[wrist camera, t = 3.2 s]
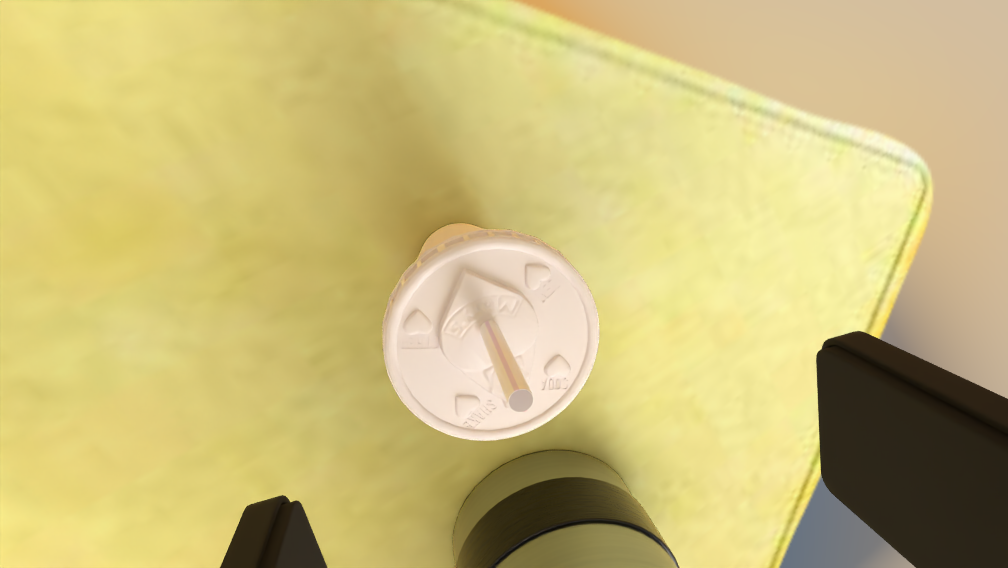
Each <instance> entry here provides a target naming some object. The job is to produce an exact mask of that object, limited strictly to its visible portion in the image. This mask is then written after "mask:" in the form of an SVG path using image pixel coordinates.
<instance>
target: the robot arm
mask: <svg viewBox="0 0 1008 568" xmlns="http://www.w3.org/2000/svg"><path fill="white" fill-rule="evenodd" d="M816 364H817V388H818V412H819V436H820V461H821V475H822V478H823V481H824V483H825V485H826V487H827V488H828V489H829V491H830V492H831V493H832V494H833V495H834V496H835V497H836V498H837V499H839V500H840V501H841V502H842V503H843V504H844V505H846V506H847V507H848V508H849V509H850V510H851V511H852V512H853V513H855V514H856V515H857V516H858V517H859V518H860V519H861V520H863V521H864V522H865V523H866V524H867V525H868V526H869V527H870V528H872V529H873V530H874V531H875V532H876V533H877V534H878V535H880V536H881V537H882V538H883V539H884V540H885V541H886V542H888V543H889V544H890V545H891V546H892V547H893V548H894V549H895V550H897V551H898V552H899V553H900V554H901V555H902V556H903V557H905V558H906V559H907V560H908V561H909V562H910V563H911V564H912V565H914V566H915V567H916V568H1008V399H1007V398H1005V397H1002V396H1000V395H998V394H996V393H994V392H992V391H990V390H987V389H985V388H983V387H981V386H979V385H977V384H975V383H972V382H970V381H968V380H966V379H964V378H962V377H960V376H957V375H955V374H953V373H951V372H949V371H947V370H944V369H942V368H940V367H938V366H936V365H934V364H932V363H929V362H927V361H925V360H923V359H920V358H919V357H916V356H914V355H912V354H910V353H908V352H906V351H904V350H901V349H899V348H897V347H895V346H893V345H891V344H888V343H886V342H884V341H882V340H880V339H878V338H876V337H873V336H871V335H869V334H867V333H865V332H861V331H856V332H852V333H848V334H845V335H841V336H838V337H834V338H831V339H828V340H826V341H825V342H824V344H823V346H822V350H820V351H819V352H818V353H817V358H816ZM220 568H327V566H326V563H325V561H324V558H323V556H322V553H321V551H320V548H319V546H318V543H317V541H316V538H315V536H314V533H313V531H312V529H311V526H310V524H309V521H308V519H307V516H306V514H305V511H304V509H303V507H302V505H301V503H300V502H299V501H293V502H290V501H289V499H288V498H287V497H286V496H283V495H282V496H278V497H275V498H271V499H268V500H264V501H261V502H257V503H254V504H250V505H248V506H247V507H246V508H245V510H244V512H243V514H242V517H241V519H240V522H239V524H238V526H237V529H236V531H235V534H234V536H233V538H232V541H231V543H230V545H229V548H228V550H227V553H226V555H225V557H224V560H223V562H222V565H221V567H220Z"/></svg>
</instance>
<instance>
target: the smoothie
mask: <svg viewBox="0 0 1008 568" xmlns="http://www.w3.org/2000/svg"><path fill="white" fill-rule="evenodd" d="M382 334H383V352H384V360H385V365H386V369H387V373H388V376H389V379H390V381H391V383H392V386H393V388H394V389H395V391H396V393H397V395H398V396H399V398H400V399H401V401H402V402H403V403H404V404H405V406H406V407H407V408H408V409H409V410H410V411H411V412H412V413H413V414H414V415H415V416H416V417H417V418H419V419H420V420H421V421H423V422H424V423H426V424H427V425H429V426H431V427H432V428H434V429H436V430H438V431H440V432H443V433H445V434H448V435H451V436H454V437H458V438H462V439H469V440H479V441H488V440H500V439H506V438H511V437H515V436H518V435H521V434H524V433H527V432H529V431H532V430H534V429H536V428H538V427H540V426H542V425H543V424H545V423H547V422H548V421H550V420H551V419H553V418H554V417H555V416H557V415H558V414H559V413H560V412H561V411H563V410H564V409H565V408H566V407H567V406H568V405H569V404H570V403H571V402H572V401H573V399H574V398H575V397H576V396H577V395H578V393H579V392H580V390H581V389H582V387H583V386H584V384H585V382H586V381H587V379H588V377H589V375H590V372H591V370H592V368H593V365H594V362H595V359H596V355H597V351H598V344H599V319H598V312H597V308H596V305H595V301H594V299H593V296H592V294H591V292H590V290H589V288H588V286H587V284H586V282H585V281H584V279H583V278H582V276H581V275H580V274H579V273H578V271H577V270H576V269H575V268H574V267H573V266H572V265H571V264H570V262H569V261H568V260H567V259H566V258H565V257H564V256H563V255H562V254H561V253H560V252H559V251H558V250H556V249H555V248H553V247H552V246H550V245H548V244H547V243H545V242H543V241H542V240H540V239H538V238H537V237H534V236H531V235H527V234H523V233H520V232H516V231H513V230H509V229H482V228H480V227H477V226H474V225H471V224H466V223H455V224H450V225H446V226H444V227H442V228H440V229H438V230H436V231H435V232H434V233H433V234H431V235H430V237H429V238H428V239H427V240H426V241H425V243H424V245H423V247H422V249H421V251H420V254H419V256H418V258H417V260H416V261H415V262H414V263H412V264H411V265H410V266H409V267H408V268H407V269H406V270H405V271H404V273H403V275H402V276H401V278H400V280H399V281H398V283H397V285H396V286H395V288H394V290H393V291H392V293H391V295H390V296H389V300H388V304H387V308H386V311H385V315H384V319H383V322H382Z"/></svg>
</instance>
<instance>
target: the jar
mask: <svg viewBox="0 0 1008 568" xmlns="http://www.w3.org/2000/svg"><path fill="white" fill-rule="evenodd" d="M453 553H454V561H455V568H679V566H678V563H677V561H676V559H675V557H674V555H673V554H672V552H671V551H670V549H669V547H668V546H667V544H666V543H665V541H664V540H663V538H662V536H661V535H660V533H659V532H658V530H657V529H656V527H655V525H654V524H653V522H652V521H651V519H650V518H649V516H648V514H647V513H646V511H645V510H644V508H643V507H642V506H641V504H640V503H639V502H638V501H637V500H636V499H635V498H634V497H633V496H632V495H631V493H630V491H629V490H628V488H627V487H626V485H625V483H624V482H623V480H622V479H621V478H620V476H619V475H618V474H617V473H616V472H615V471H614V470H613V469H612V468H610V467H609V466H608V465H607V464H605V463H603V462H602V461H600V460H598V459H596V458H594V457H591V456H589V455H586V454H583V453H579V452H574V451H565V450H551V451H542V452H537V453H533V454H529V455H525V456H523V457H520V458H517V459H515V460H512V461H510V462H508V463H506V464H504V465H503V466H501V467H500V468H498V469H496V470H495V471H493V472H492V473H491V474H490V475H488V476H487V477H486V478H485V479H483V480H482V481H481V482H480V483H479V484H478V486H477V487H476V488H475V489H474V490H473V491H472V493H471V494H470V495H469V496H468V498H467V499H466V501H465V503H464V505H463V506H462V508H461V510H460V512H459V515H458V517H457V520H456V524H455V528H454V533H453Z"/></svg>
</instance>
